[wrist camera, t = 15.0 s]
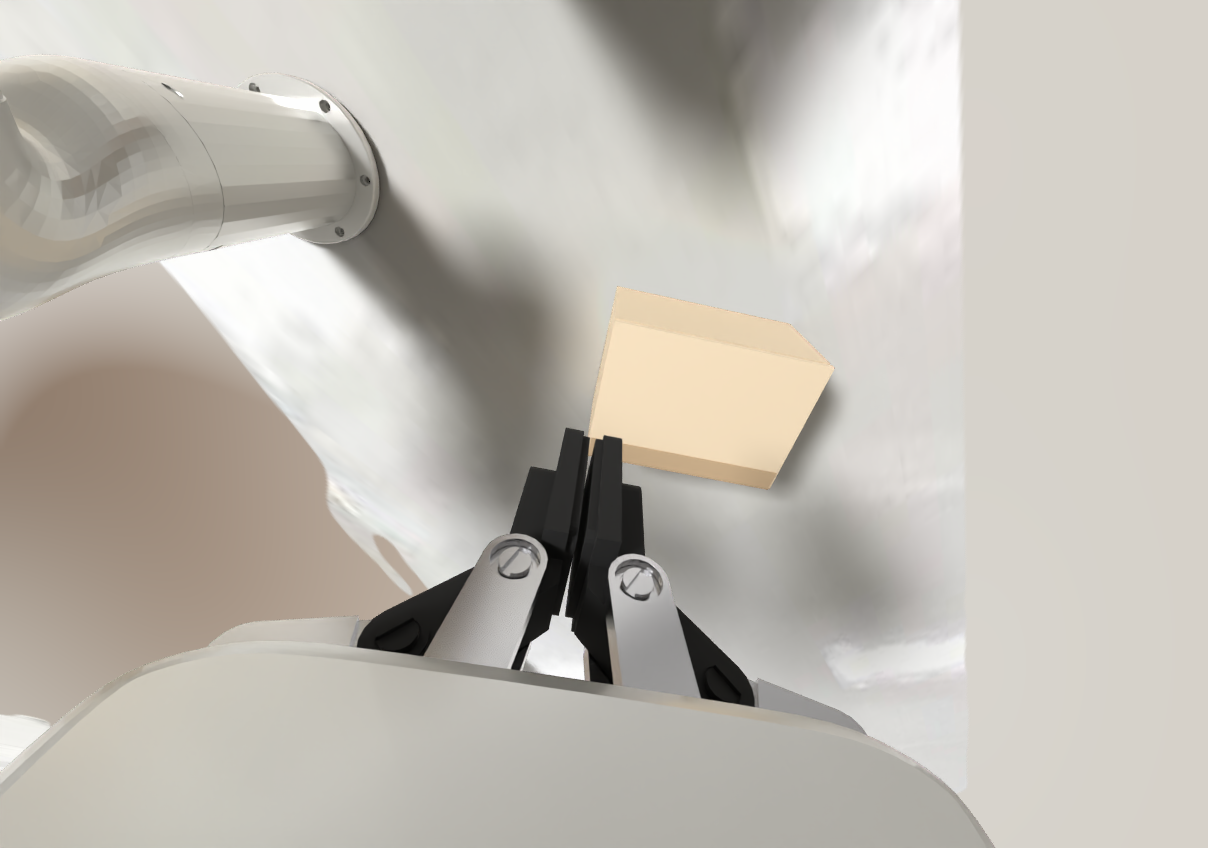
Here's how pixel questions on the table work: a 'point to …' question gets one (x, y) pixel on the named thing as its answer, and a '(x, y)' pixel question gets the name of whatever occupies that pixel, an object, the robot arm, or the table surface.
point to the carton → (704, 327)
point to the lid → (703, 404)
